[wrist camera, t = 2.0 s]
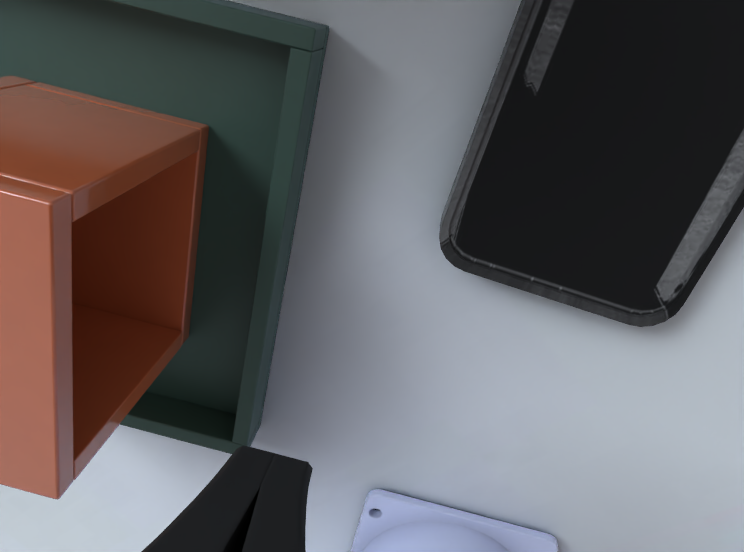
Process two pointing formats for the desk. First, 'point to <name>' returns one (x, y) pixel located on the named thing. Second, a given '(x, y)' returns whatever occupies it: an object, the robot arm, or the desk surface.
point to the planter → (88, 270)
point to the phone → (605, 155)
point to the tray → (222, 171)
